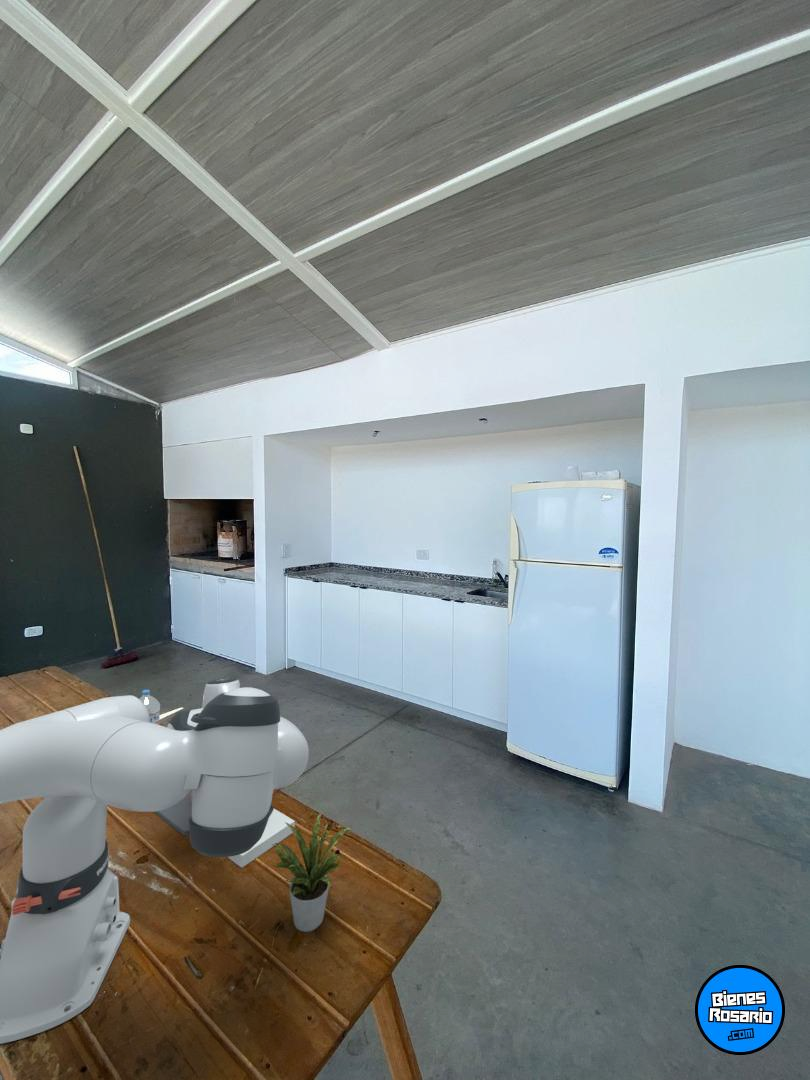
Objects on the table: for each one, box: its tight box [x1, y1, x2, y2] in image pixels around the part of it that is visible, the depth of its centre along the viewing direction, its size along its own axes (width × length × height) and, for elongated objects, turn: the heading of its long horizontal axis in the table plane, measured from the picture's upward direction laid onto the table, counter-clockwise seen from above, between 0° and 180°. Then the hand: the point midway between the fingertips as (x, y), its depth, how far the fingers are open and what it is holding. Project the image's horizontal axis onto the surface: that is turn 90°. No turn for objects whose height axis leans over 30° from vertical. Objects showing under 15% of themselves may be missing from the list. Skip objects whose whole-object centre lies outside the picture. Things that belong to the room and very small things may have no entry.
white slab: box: [227, 808, 296, 868], centre depth 103 cm, size 18×14×2 cm
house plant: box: [272, 811, 354, 933], centre depth 82 cm, size 14×14×16 cm
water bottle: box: [138, 689, 161, 725], centre depth 121 cm, size 7×7×25 cm
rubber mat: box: [153, 789, 193, 837], centre depth 113 cm, size 16×18×1 cm
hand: (220, 801), depth 109 cm, fingers closed
